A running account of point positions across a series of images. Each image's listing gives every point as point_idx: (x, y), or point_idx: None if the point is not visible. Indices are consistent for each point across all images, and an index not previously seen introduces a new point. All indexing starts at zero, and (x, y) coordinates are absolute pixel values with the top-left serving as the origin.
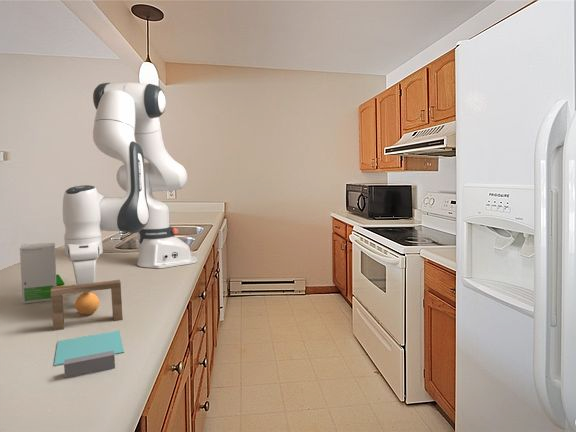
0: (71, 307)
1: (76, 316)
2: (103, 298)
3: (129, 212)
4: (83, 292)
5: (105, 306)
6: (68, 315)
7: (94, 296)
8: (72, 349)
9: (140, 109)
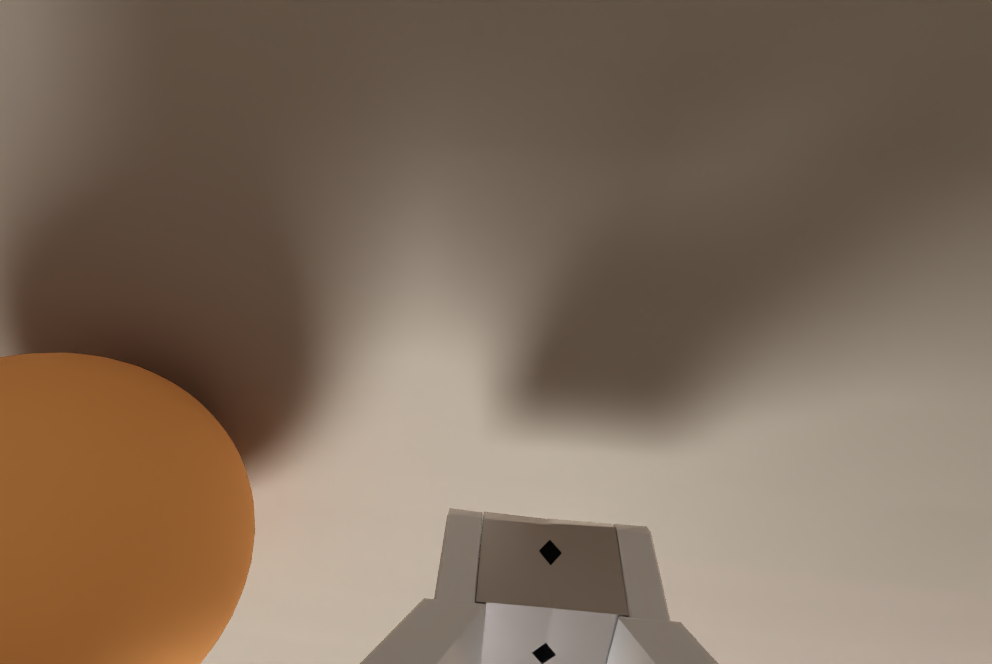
0: (612, 266)
1: (91, 295)
2: (762, 634)
3: None
4: (388, 640)
5: (391, 604)
6: (180, 196)
7: None
8: None
9: None
